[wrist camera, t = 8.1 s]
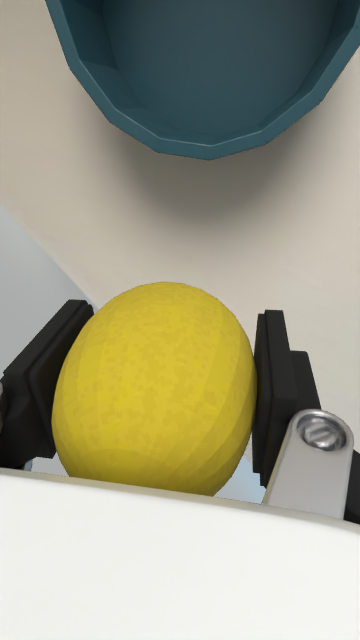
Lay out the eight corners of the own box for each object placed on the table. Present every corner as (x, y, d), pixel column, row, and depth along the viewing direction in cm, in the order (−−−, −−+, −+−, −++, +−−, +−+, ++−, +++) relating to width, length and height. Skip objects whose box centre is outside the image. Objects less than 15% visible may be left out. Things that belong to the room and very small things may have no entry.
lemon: (237, 379, 15) (230, 607, 8) (112, 354, 15) (8, 552, 8) (271, 260, 12) (306, 468, 5) (115, 232, 12) (-45, 393, 5)
